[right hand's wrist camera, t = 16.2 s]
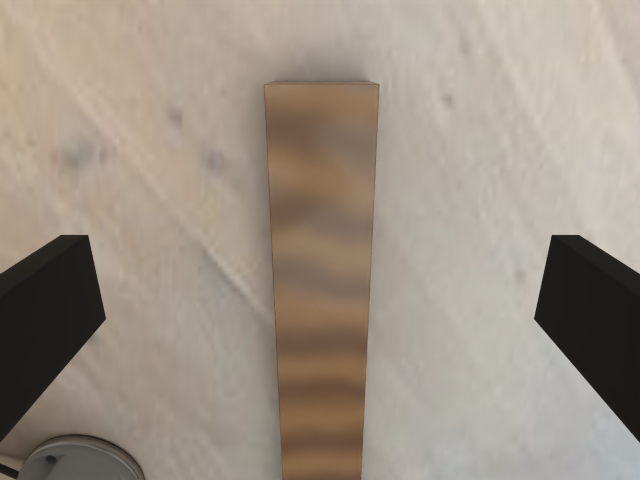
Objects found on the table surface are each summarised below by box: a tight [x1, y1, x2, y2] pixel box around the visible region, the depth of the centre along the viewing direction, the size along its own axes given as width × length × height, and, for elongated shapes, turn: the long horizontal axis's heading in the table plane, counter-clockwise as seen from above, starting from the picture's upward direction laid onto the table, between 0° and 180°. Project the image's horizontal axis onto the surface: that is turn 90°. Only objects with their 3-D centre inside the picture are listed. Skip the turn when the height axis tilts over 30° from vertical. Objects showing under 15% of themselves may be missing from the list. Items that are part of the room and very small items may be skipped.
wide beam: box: [264, 81, 379, 480], centre depth 48 cm, size 71×9×7 cm, turn 0°
